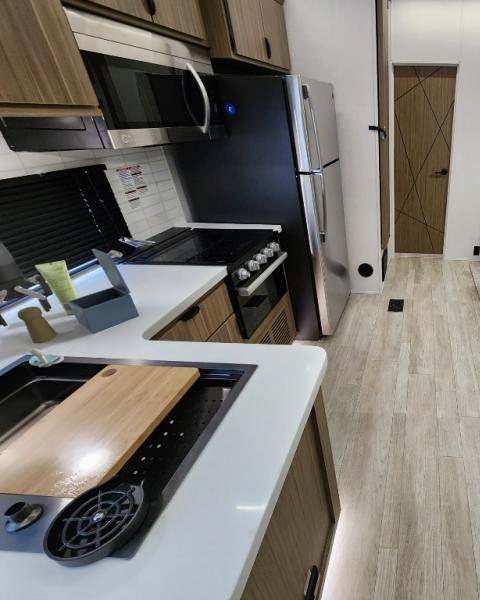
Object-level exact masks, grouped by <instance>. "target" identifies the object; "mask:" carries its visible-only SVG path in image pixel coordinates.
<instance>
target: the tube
mask: <svg viewBox="0 0 480 600" xmlns="http://www.w3.org/2000/svg"><path fill="white" fill-rule="evenodd" d="M66 263H67V262H66V260H59V261H53V262H47V263H41V264H36V265H34V267H35V268H36V270H37V271H38V272H39V273H40V276H42V277H43V278H44V280H45V281H46V283H47V284H48V286H49V287H50V289H51V290H52V291H53V295H55V297H56V299H57V301H58V303H59V304H60V305H61V307H62V309H63V310H64V312H65V314H66V315H74V313H73V311H72V309H71V308H70V306H69V304H68V302H67V301H70V300H74V299H77V298H79V295H78V293H77V291H76V289H75V286H74V283H73V281H72V278H71V276H70V273H69V270H68V267H67V264H66Z"/></svg>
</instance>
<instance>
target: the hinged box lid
mask: <svg viewBox="0 0 480 600" xmlns="http://www.w3.org/2000/svg"><path fill="white" fill-rule="evenodd" d="M91 251H92V254H94V256H95V258H96V260H97V262H98V263H99V265H100V267H101V269H102V270H103V271H104V274H105V275H106V277H107V279H108V281H109V283H110V285H111V286H112V287H116V288H118V289H120V290H122V291H124V292H126V293H128V294H131V290H130V289H129V287H128V285H127V283H126V281H125V279H124V277H123V276H122V274H121V272H120V270H119V269H118V266H117V265H116V263H115V261H114V258H120V259H121V258H122V257H123V253H122V252H120V251H117V250H115V249H111V250H110V251H109V252H103V251H101V250H99V249H96V248H92V249H91Z"/></svg>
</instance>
